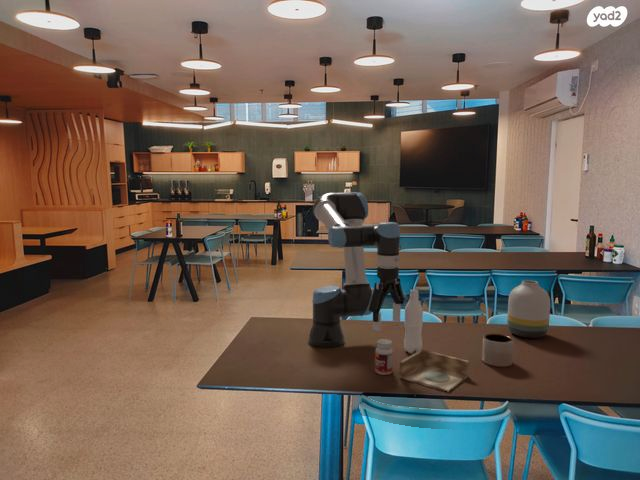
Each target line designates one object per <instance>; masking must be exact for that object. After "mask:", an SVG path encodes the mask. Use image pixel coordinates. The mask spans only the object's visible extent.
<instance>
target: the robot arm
mask: <svg viewBox="0 0 640 480" xmlns="http://www.w3.org/2000/svg"><path fill="white" fill-rule="evenodd" d="M312 212H313V215H314V217H315V218H316V219H317V221H319V222H321V223H322V224H323V225H324V227H325V228H326V230H327V231H328V233H327V239H328V240H327V241H328V245H329V246H330V247H331V248H338V249H342V248H343V254H344V255H343V256H344V269H345V270H344V271H345V272H344V273H345V282H344V284H343V285H342V288H343V289H342V288H341V287H340V286H338V285H325V286H320V287H318V288H316V289H315V290H314V291H313V293H312V300H311V302H312V325H311V329H310V332H309V335H308V343H309V344H310V345H312V346H314V347H318V348H337V347H340V346H342V345H343V344H344V343H345V335H344V333H343V329H342V325H341V318H348V317H363V316H369V315H371V314H372V330H373V331H376V332H381V330H382V312H381V309H382V306H383V304H384V301H385V299H386V297H387V296H388V295H389V294H390V297H391V298H392V300H393V303H392V322H396V323H401V309H402V307H401V305H404V303H405V302H404V301H405V296H404V293H403V289H402V283H401V278H400V276H399V273H400V272H399V271H400V269H399V264H400V235H401V232H400V231H401V230H400V224H399V223H398V222H395V221H382V222H378V223H377V224H370V225H363V224H364V223H365V220H366V219H367V218H368V216H369V205H368V200H367V197H366V196H365V195H364V194H363V193H362V192H355V191H352V192H351V191H350V192H345V191H344V192H332V191H331V192H326V193H323V194H322V195H320V196H318V197H317V199H315V200H314V203H313V206H312ZM364 247H366V248H367V247H377V248H376V250H377V252H376V253H377V254H376V256H377V257H376V266H377V267H376V277H377V278H378V279H379V282H375V283H374V285H373V287H371V284H370V282H369V281H368V280H367V278H366V277H367V276H366V275H367V274H366V263H365V262H366V261H365V253H364Z"/></svg>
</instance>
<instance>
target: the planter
mask: <svg viewBox="0 0 640 480" xmlns="http://www.w3.org/2000/svg"><path fill="white" fill-rule="evenodd" d="M514 342H515V341H514V338H513V337H512V336H509V335H506V334H504V333H503V334H502V333H493V332H492V333H486V334H483V336H482V349H481V352H482V353H481V361H482V362H483V363H485V364H486V365H488V366H491V367H496V368H506V367H510V366H512V365H513V362H514Z"/></svg>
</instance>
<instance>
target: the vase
mask: <svg viewBox="0 0 640 480" xmlns="http://www.w3.org/2000/svg"><path fill="white" fill-rule="evenodd" d="M507 302H508V303H507V327H508V330H509V331H510V333H512V334H513V335H516V336H519V337H522V338H527V339H528V338H529V339H538V338H542V337H544V336H546V334H547V333H548V331H549V329H550V316H551V297H550V295H549V293H548V292H547V291H546V290H545V289H544V288H542V287H541V286H540V285H539V282H538V281H536V280H529V279H525V280H522V281H521V283H520V284H519V285H517V286H515V287H514V288H512V290H511V291H510V293H509V295H508V301H507Z"/></svg>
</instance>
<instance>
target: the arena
mask: <svg viewBox="0 0 640 480" xmlns="http://www.w3.org/2000/svg"><path fill="white" fill-rule="evenodd" d="M469 364H470V362H469V360H466V359H463V358H458V357H454V356H452V355H451V356H450V355H448V354H443V353H439V352H435V351H430V350H427V349H423V348H421V350H420V351H418V352H413V353H412V354H411V355H409V356H407V357H406V358H404V359H402V360H400V361H399V379H402V380H406V381H409V382H412V383H415V384H419V385H422V386H425V387H430V388H433V389H435V390H438V389H439V391H442V390H443V391H442V392H445V391H447V392H446V393H450V392H451V391H452V390H454V389H455V388H456V387H457V386H458V385H460V384H461V383H462V382H464V381H465V380H466V379H467V378H468V377H469V368H470V367H469V366H470V365H469ZM451 389H452V390H451ZM450 390H451V391H450ZM449 391H450V392H449Z"/></svg>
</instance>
